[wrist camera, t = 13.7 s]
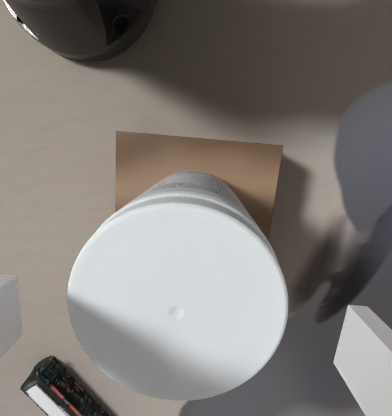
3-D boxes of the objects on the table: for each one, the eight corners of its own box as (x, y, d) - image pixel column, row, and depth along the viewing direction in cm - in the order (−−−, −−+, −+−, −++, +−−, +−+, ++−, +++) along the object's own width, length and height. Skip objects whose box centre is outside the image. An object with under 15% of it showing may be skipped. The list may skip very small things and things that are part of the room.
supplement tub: (246, 256, 26) (303, 397, 11) (153, 270, 26) (95, 420, 12) (233, 159, 23) (283, 181, 9) (132, 176, 24) (30, 222, 10)
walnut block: (133, 133, 29) (116, 131, 23) (266, 145, 29) (283, 145, 23) (130, 257, 32) (114, 281, 27) (249, 267, 32) (259, 294, 27)
